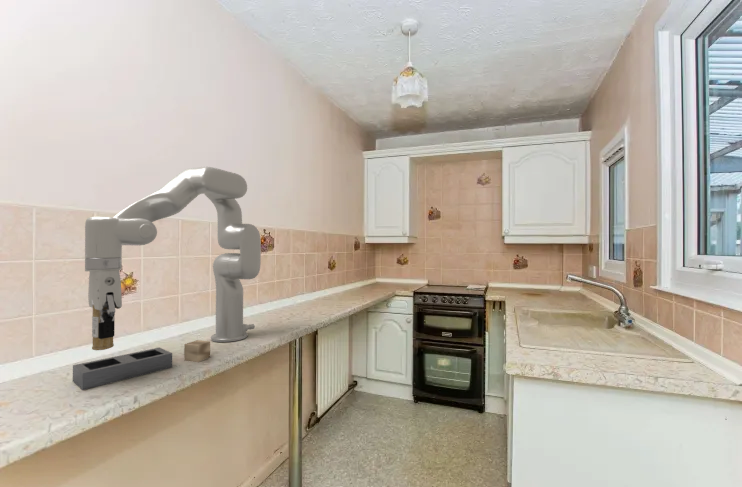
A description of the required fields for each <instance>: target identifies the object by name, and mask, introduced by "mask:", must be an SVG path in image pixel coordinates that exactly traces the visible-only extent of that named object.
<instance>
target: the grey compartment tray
mask: <svg viewBox="0 0 742 487" xmlns="http://www.w3.org/2000/svg"><path fill="white" fill-rule="evenodd" d="M171 368H173V352H170V351H169V350H166V349H163V348H162V347H155V348H150V349H145V350H140V351H136V352H131V353H126V354H122V355H115V356H112V357H107V358H103V359H102V358H101V359H97V360H93V361H92V360H91V361H88V362H82V363H77V364H72V382H73V383H74V384H75V385H76V386H77V387H79V389H80V390H81V391H85V390H88V389H92V388H96V387H100V386H104V385H109V384H113V383H117V382H120V381H124V380H129V379H131V378H132V379H133V378H136V377H139V376H144V375H147V374H148V375H149V374H152V373H156V372H160V371H163V370H167V369H171Z"/></svg>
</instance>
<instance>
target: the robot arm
mask: <svg viewBox="0 0 742 487" xmlns="http://www.w3.org/2000/svg"><path fill="white" fill-rule="evenodd" d="M247 191H248V183H247V181H246V180H245V178H244V177H243V176H242V175H240V174H238V173H236V172H232V171H228V170H224V169H220V168H216V167H211V166H201V167H192V168H187V169H184V170H182V171H181V172H180V173H179V174H177V175H176V176H175V177H173V178H172V179H171V180H170V181H168V182H167V183H166V184H164V185H163V186H162V187H160V188H159V189H158V190H157V191H155V192H153V193H151V194H149V195H147V196H145V197H143V198H141V199H139V200H137V201H135V202H133V203H132V204H130V205H128V206H126V207H125V208H123V209H122V210H120V211H119V212H117V214H116V215H114V216H113V217H111V216H90V217H87V219H85V223H84V224H85V225H84V236H85V237H84V272H89V273H88V293H87V294H88V305H89V307H90V308H91V309H93V306H92V305H93V304H92V300H93V303H94V308H95V309H96V310H99V311H100V323H99V327H98V338H99V339H104V338H109V337H113V338H114V337H115V326H116V325H115V322H116V321H115V319H116V318H115V315H116V314H115V313H116V309H117V310H118V309H119V310H120V308H122V306H123V302H122V301H123V298H122V282H121V281H122V280H121V274H120V271H122V267H123V265H122V262H123V260H122V259H123V258H122V257H123V256H122V253H123V252H122V251H123V250H122V249H123V248H122V246H146V245H149V244H151V243H152V242H154V240H155V239H156V237H157V235H158V230H157V229H158V228H157V227H156V225H155V224H154V222H156V221H159V220H162V219H166V218H168V217H172V216H174V215H177V214H179V213H180V212H182V211H183V210H184V209H185V208H186V207H187V206H188V205H190V203H191V202H192V201H194V199H196V198H197V197H198V196H199V195H202V194H204V196H205V197H206V198H207V199H208V200H210V202H212V204H213V205H214V207H215V210H216V212H217V213H216V214H217V243H218V246H219V247H220V248H222V249H224V250H232V251H234V250H239V252H240V253H239V252H238V253H237V252H226V253H221V254H218V256H217V257H216V258H214V260H213V263H212V264H213V265H212V269H213V270H212V271H213V277H214V279H215V280H214V282H215V333H214V334H212V335H211V336H210V340H211V341H213V342H215V343H229V342H237V341H241V340H245V339H247V337H248V332H247V331H248V330H254V329H255V327H256V326H255V324H254V323H250V324H247V323H246V324H245V323H244V287H243V284H242V282H241V280H253V279H255V278H257V277H258V275H259V273H260V269H261V262H262V261H261V260H262V258H261V257H262V256H261V254H262V253H261V251H262V250H261V246H262V244H261V243H262V242H261V241H262V240H261V238H262V237H261V234H260V231H259V229H258V227H257V226H255V225H254V224H251V223H243V215H242V214H243V213H242V208H241V206H240V204H239V202H238V201H237V200H236V199H240V198H243V197H244V196H245V195H246V194H247ZM103 307H107V309H106V310H103ZM104 312H107V313H105V314H104Z"/></svg>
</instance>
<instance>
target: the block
mask: <svg viewBox="0 0 742 487" xmlns="http://www.w3.org/2000/svg"><path fill="white" fill-rule="evenodd" d="M183 348H184V349H183V350H184V352H183V353H184V354H183V355H184V358H183V360H184V362H192V363H199V362H202V361H206V360H207V359H209V358H211V341H210V340H200V339H197V340H194V341H190V342H188V343H185V344H184V346H183Z"/></svg>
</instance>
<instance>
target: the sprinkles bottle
mask: <svg viewBox="0 0 742 487" xmlns="http://www.w3.org/2000/svg"><path fill="white" fill-rule="evenodd" d="M92 304H93V305H92V306H93V308H92V316H91V320H92V322H91V330H92V331H91V333H92V334H91V337H92V346H91V350H94V351H104V350H108V349H112V348H113V347H114V346H115V345H114V337H109V338H104V339H99V338H98V327H99V323H100V311H99V310H96V309H95V308H94V303H93V300H92ZM106 309H107V307H103V310H106ZM105 313H107V312H104V314H105Z"/></svg>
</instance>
